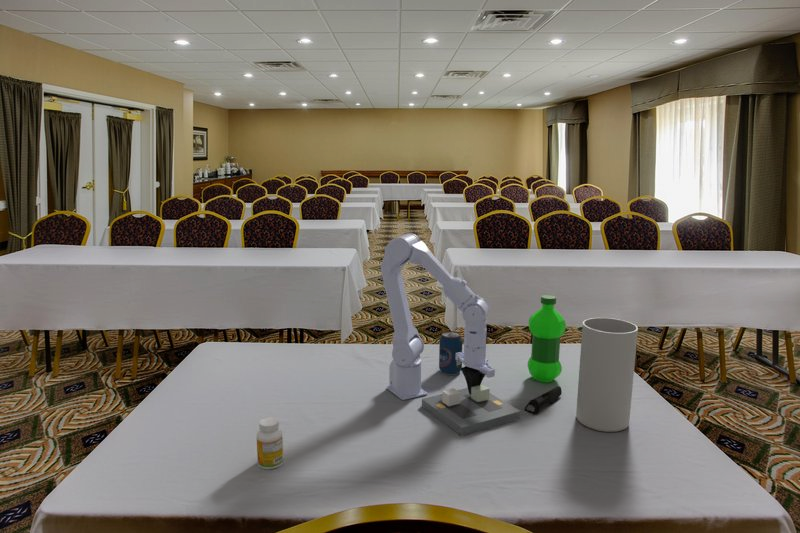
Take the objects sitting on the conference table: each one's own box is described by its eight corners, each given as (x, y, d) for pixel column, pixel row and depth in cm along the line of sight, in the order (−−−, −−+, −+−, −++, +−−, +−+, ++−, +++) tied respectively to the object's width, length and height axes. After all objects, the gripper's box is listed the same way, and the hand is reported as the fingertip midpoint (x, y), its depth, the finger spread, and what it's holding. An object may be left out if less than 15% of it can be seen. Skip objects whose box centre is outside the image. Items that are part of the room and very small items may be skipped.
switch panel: (421, 405, 150) (421, 398, 149) (476, 392, 158) (477, 385, 158) (461, 435, 134) (461, 427, 134) (520, 418, 143) (520, 410, 143)
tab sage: (471, 397, 149) (471, 387, 148) (482, 395, 151) (482, 384, 150) (478, 402, 146) (478, 391, 146) (489, 399, 148) (489, 388, 148)
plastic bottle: (567, 378, 168) (573, 296, 163) (550, 389, 161) (556, 303, 156) (537, 369, 175) (541, 290, 170) (519, 379, 167) (523, 297, 162)
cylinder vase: (590, 435, 135) (598, 334, 130) (567, 411, 147) (573, 318, 142) (639, 431, 137) (648, 332, 132) (612, 408, 149) (620, 316, 144)
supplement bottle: (260, 457, 125) (258, 416, 123) (284, 456, 125) (283, 415, 123) (256, 470, 119) (253, 428, 117) (282, 469, 120) (280, 427, 118)
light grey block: (442, 401, 147) (442, 391, 146) (453, 399, 148) (454, 388, 148) (448, 406, 144) (449, 395, 143) (460, 403, 146) (460, 392, 145)
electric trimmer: (565, 398, 156) (566, 387, 155) (535, 416, 145) (536, 404, 144) (552, 394, 158) (553, 383, 158) (523, 411, 147) (523, 400, 147)
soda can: (434, 371, 173) (434, 333, 171) (449, 365, 178) (450, 328, 175) (451, 377, 168) (451, 339, 166) (466, 371, 173) (467, 334, 170)
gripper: (504, 350, 144) (502, 400, 147) (470, 334, 156) (469, 381, 159) (482, 355, 141) (481, 406, 143) (449, 338, 153) (448, 386, 156)
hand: (473, 393), depth 151 cm, fingers closed
